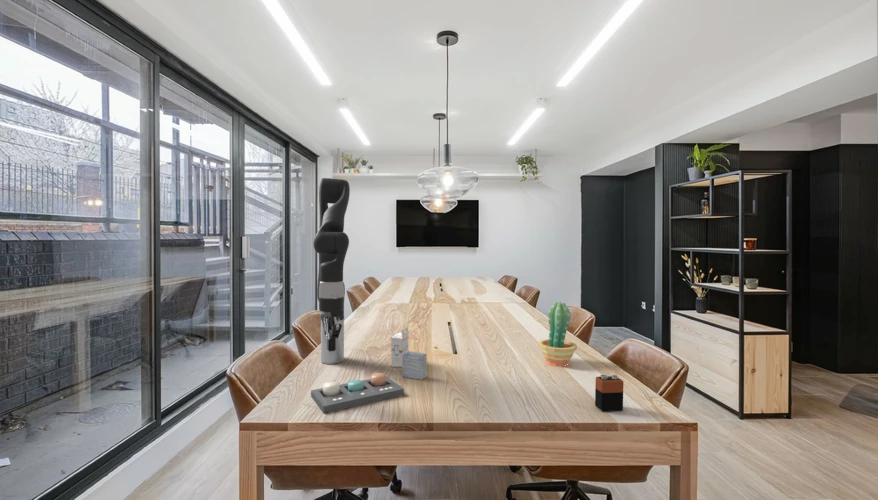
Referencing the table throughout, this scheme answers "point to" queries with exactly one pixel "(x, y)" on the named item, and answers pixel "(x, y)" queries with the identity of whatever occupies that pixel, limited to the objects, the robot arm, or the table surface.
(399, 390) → the button panel
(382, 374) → the terracotta button
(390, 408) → the table surface
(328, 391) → the cream button
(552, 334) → the potted cactus
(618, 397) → the battery
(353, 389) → the teal button
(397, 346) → the ink cartridge box
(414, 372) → the medicine box
